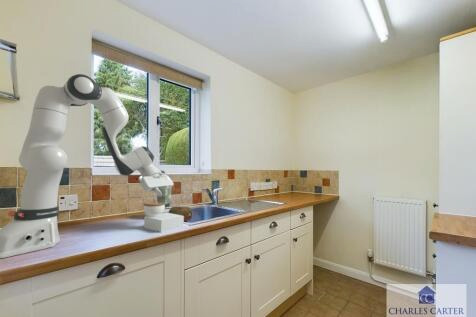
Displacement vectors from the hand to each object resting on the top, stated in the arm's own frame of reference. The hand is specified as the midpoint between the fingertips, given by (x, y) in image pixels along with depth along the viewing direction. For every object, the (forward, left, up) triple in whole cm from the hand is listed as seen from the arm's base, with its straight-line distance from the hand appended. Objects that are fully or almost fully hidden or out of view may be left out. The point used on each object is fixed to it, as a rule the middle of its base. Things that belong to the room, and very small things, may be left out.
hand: (165, 194), depth 119 cm
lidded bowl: (+16, +21, -17) cm, 32 cm away
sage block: (0, +1, -4) cm, 4 cm away
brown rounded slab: (+16, +1, -17) cm, 23 cm away
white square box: (0, 0, -17) cm, 17 cm away
